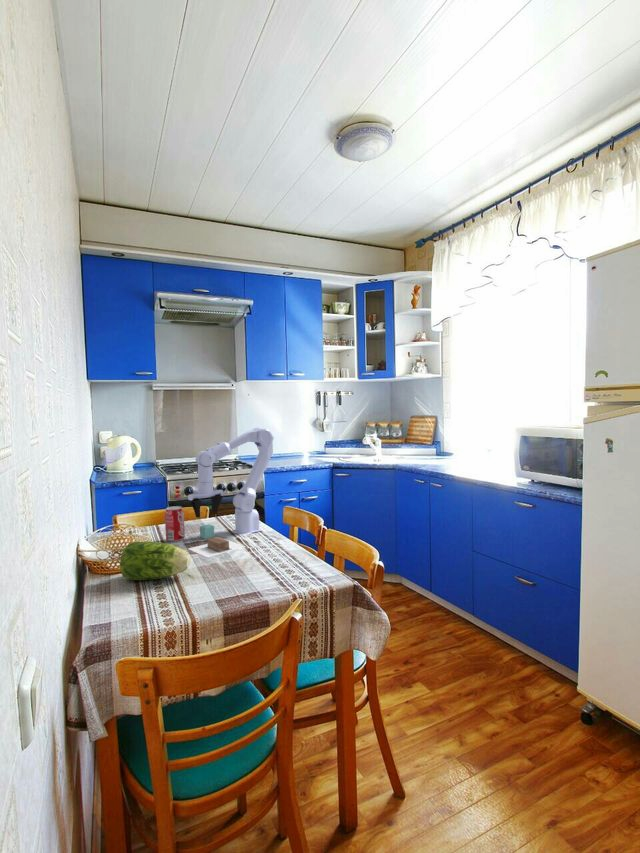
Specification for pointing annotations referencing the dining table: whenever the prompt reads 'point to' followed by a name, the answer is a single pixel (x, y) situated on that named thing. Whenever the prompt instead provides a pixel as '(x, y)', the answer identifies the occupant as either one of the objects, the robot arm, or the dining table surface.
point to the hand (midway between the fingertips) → (206, 515)
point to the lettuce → (152, 560)
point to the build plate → (210, 552)
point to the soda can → (174, 524)
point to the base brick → (218, 544)
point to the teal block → (206, 531)
